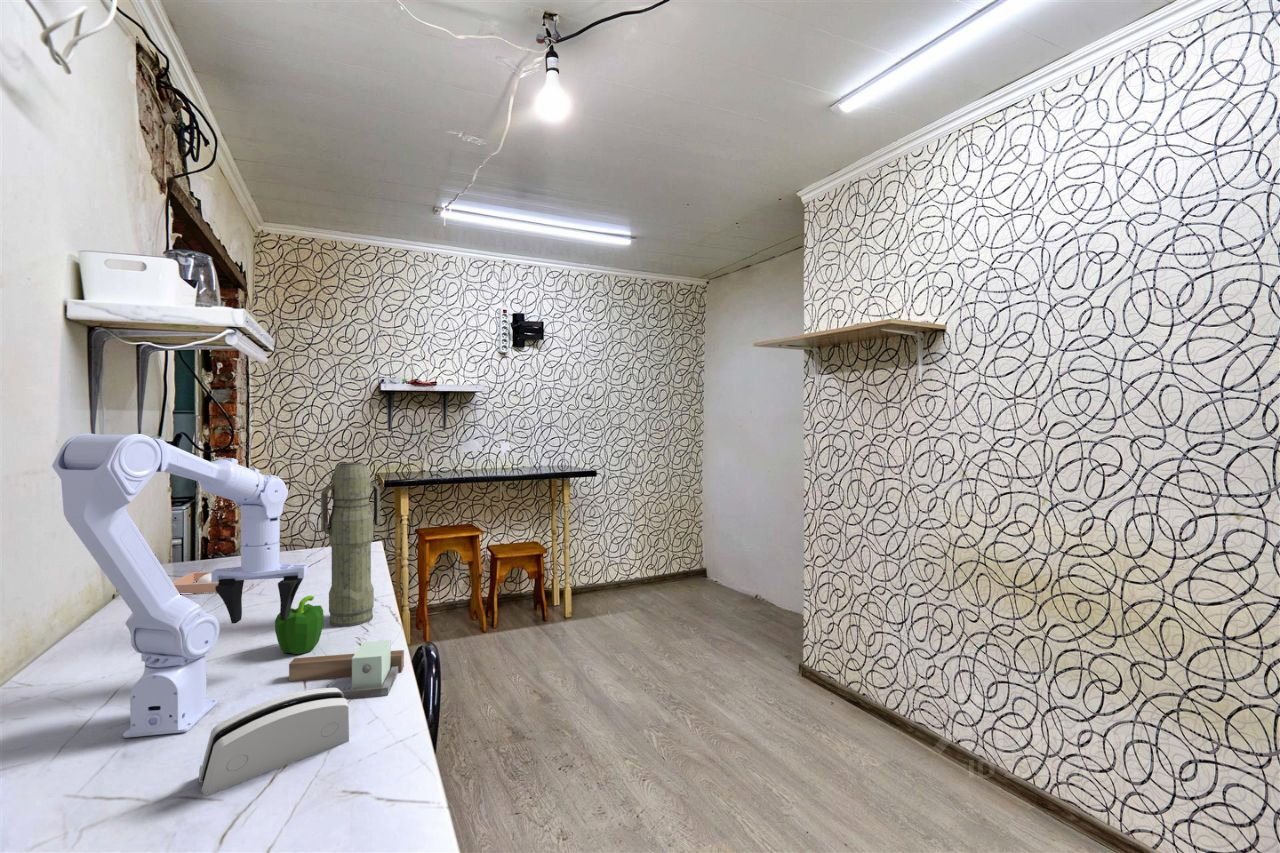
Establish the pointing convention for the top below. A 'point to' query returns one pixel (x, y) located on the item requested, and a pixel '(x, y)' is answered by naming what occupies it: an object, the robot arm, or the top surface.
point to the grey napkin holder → (274, 736)
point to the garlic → (205, 578)
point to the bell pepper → (300, 628)
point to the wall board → (343, 672)
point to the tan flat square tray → (194, 584)
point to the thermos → (350, 543)
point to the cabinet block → (371, 664)
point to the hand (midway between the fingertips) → (260, 620)
